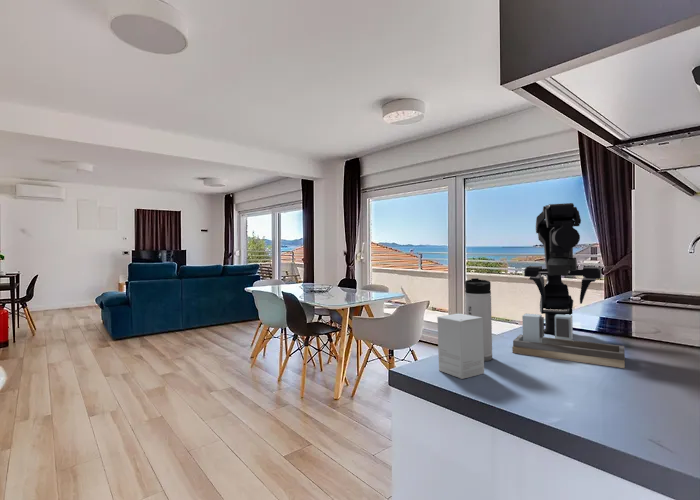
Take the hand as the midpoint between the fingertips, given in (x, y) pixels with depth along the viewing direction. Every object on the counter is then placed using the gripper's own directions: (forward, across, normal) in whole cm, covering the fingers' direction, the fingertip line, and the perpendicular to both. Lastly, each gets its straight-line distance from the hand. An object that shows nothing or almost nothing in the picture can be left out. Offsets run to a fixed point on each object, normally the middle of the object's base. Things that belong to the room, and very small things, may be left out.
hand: (562, 302), depth 107 cm
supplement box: (+12, -15, -39) cm, 43 cm away
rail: (+12, +2, -12) cm, 17 cm away
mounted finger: (+10, -6, -12) cm, 17 cm away
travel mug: (+12, -15, -26) cm, 32 cm away
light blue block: (+12, 0, 0) cm, 12 cm away
